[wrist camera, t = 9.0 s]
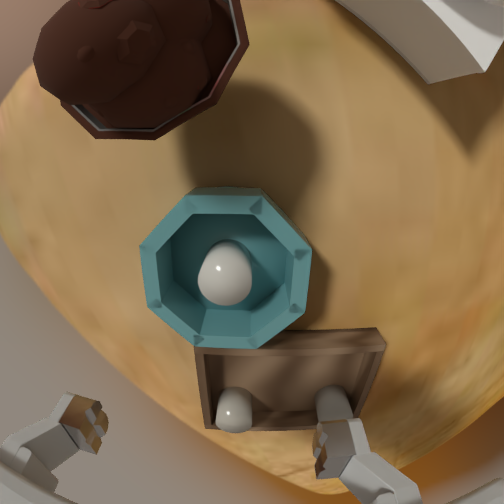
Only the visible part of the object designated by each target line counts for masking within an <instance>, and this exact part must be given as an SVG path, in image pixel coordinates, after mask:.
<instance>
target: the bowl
mask: <svg viewBox="0 0 504 504" xmlns="http://www.w3.org/2000/svg"><path fill="white" fill-rule="evenodd" d="M224 239H233V240H236V241H239V242H241V243H242V244H244V245H245V246H246V247H247V249H248V250H249V252H250V254H251V258H252V285H251V290H250V292H249V294H248V295H247V297H246V298H245V299H244V300H242V301H241V302H239V303H237V304H234V305H229V306H224V305H218V304H215V303H213V302H211V301H209V300H208V299H207V298H206V297H205V296H204V295H203V294H202V292H201V291H200V288H199V285H198V275H199V272H200V270H201V267H202V265H203V262H204V260H205V257H206V255H207V252H208V250H209V249H210V247H211V246H212V245H213V244H214V243H216V242H218V241H220V240H224ZM139 247H140V256H141V265H142V273H143V280H144V287H145V294H146V301H147V307H148V308H149V309H150V310H151V311H153V312H154V313H155V314H156V315H157V316H158V317H160V318H161V319H162V320H163V321H164V322H165V323H167V324H168V325H169V326H170V327H171V328H173V329H174V330H175V331H176V332H177V333H179V334H180V335H181V336H182V337H184V338H185V339H186V340H187V341H189V342H190V343H191V344H192V345H194V346H196V347H213V348H236V349H257V348H259V347H260V346H261V345H263V344H264V343H265V342H267V341H268V340H270V339H271V338H272V337H274V336H275V335H276V334H278V333H279V332H280V331H282V330H283V329H284V328H286V327H287V326H288V325H290V324H291V323H292V322H294V321H295V320H296V319H297V318H299V317H300V316H301V315H303V314H304V313H305V309H306V301H307V293H308V284H309V275H310V266H311V256H312V249H311V247H310V245H309V243H308V241H307V240H306V238H305V236H304V234H303V233H302V232H301V231H300V230H299V229H298V227H297V226H296V225H295V224H294V223H293V222H292V221H291V220H290V219H289V218H288V217H287V215H286V214H285V213H284V212H283V210H282V209H281V208H280V207H279V206H278V205H277V204H275V203H274V202H273V201H272V200H271V199H270V197H269V196H268V195H267V194H266V193H265V192H264V191H263V190H262V189H261V188H241V187H233V186H223V187H196V188H195V189H193V190H192V191H190V192H189V193H188V194H186V195H185V196H184V197H183V198H182V199H181V200H180V201H179V202H178V203H177V205H176V206H175V207H174V208H173V209H172V210H171V211H170V212H169V213H168V214H167V215H166V216H165V218H164V219H163V220H162V221H161V222H160V223H159V224H158V225H157V226H156V228H155V229H154V230H153V231H152V232H151V233H150V234H149V235H148V237H147V238H146V239H145V240H144V241H143V242H142V243H141V245H140V246H139Z"/></svg>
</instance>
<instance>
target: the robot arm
mask: <svg viewBox="0 0 504 504" xmlns="http://www.w3.org/2000/svg"><path fill="white" fill-rule="evenodd" d="M101 408H102V405H101V403H100V402H99V401H96V400H93V399H89V398H86V397H82V396H79V395H76V394H73V393H70V392H66V393H64V395H63V396H62V398H61V399H60V401H59V402H58V404H57V405H56V407H55V409H54V410H53V412H52V413H51V415H50V417H49V418H44V419H42V420H40V421H38V422H36V423H34V424H32V425H30V426H28V427H26V428H24V429H22V430H20V431H18V432H16V433H14V434H12V435H10V436H8V437H7V438H6V440H5V441H4V443H3V445H2V446H1V448H0V504H78V503H75V502H73V501H70V500H69V499H66V498H64V497H62V496H60V495H58V494H56V493H54V491H55V489H56V487H57V484H58V479H57V478H56V477H55V476H54V475H53V474H52V473H51V471H52V470H53V469H55V468H56V467H57V466H59V465H60V464H62V463H63V462H64V461H66V460H67V459H68V458H70V457H71V456H72V455H74V454H75V453H76V452H78V451H79V449H81V450H84V451H87V452H90V453H93V454H97V453H98V450H99V448H100V446H101V444H102V442H101V438H100V437H102V436H103V435H105V434H106V432H107V429H108V423H109V422H108V417H107V415H106V414H105V413H104V412H103V411H102V410H101ZM312 447H313V456H314V457H315V458H316V459H317V460H316V463H315V472H316V479H328V478H338V477H339V479H340V480H341V481H342V483H343V484H344V485H345V486H346V487H347V488H348V489H349V490H350V491H351V492H352V493H353V494H354V495H355V496H356V498H357V499H358V500H359V501H360V502H361V503H362V504H423V503H422V499H421V496H420V493H419V490H418V487H417V484H416V483H414V482H413V481H412V480H410V479H409V478H408V477H406V476H405V475H404V474H402V473H401V472H400V471H398V470H397V469H396V468H395V467H393V466H392V465H391V464H389V463H388V462H387V461H386V460H384V459H383V458H382V457H380V456H379V455H378V454H377V453H375V452H371V450H370V447H369V443H368V440H367V437H366V433H365V430H364V427H363V424H362V420H361V419H360V418H353V419H342V420H332V421H321V422H319V423H318V425H317V432H316V433H315V434H314V437H313V444H312ZM446 504H504V479H503V478H496V479H494V480H492V481H490V482H488V483H486V484H485V485H483V486H481V487H479V488H477V489H475V490H474V491H471V492H470V493H468V494H465V495H463V496H461V497H459V498H457V499H455V500H453V501H451V502H448V503H446Z"/></svg>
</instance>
